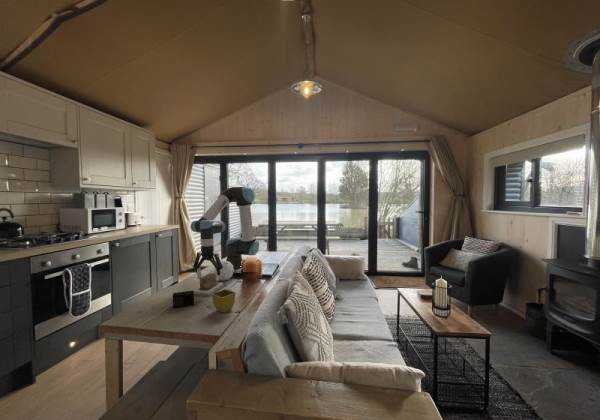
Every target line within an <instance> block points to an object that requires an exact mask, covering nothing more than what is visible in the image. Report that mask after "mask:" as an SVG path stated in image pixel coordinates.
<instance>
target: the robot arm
mask: <svg viewBox="0 0 600 420" xmlns="http://www.w3.org/2000/svg"><path fill="white" fill-rule="evenodd" d="M254 201H255V192H254V190H253V189H252V188H251V187H249V186H232V187H228V188H226V189H225V190H223V191H222V192H221V193H220V194H219V195H218V196H217V199H216V200H215V201H214V203H212V205H210V207H209V208H208V209H207V210H206V211H205V212H204V213H203V214H202V216H201V217H200V218H199V219H198V220H194V221H192V222H191V223H190V229H191V231H192V232H193V233H199V234H200V251H199V252H197V253H196V257H195V260H194V263H193V264H192V268H195V273H196V276H197V280H200V278H201V277H202V269H201V266H202V264H203V263H204V262H205V261H209V262H211V263H212V266H214V268H216V270H215V272H216V281H217V282H218V281H219V275H220V269H222V268H223V266H222V264H221V261H222V260H220V257H219V256H220V255H219V253H214V251H215V246H214V242H215V241H214V235H216V234H220V233H222V232H223V233H224V231H225V230H226V223H225V222H224V221H222V220H217V221H214V220H215V219H216V218H217V217H218V215H219V214H220V213H222V212H221V211H223V210H224V208H225V207H226V206H229V205H230V203H235V204H236V207H238V210H239V221H240V230H241V237H233V238H229V239H227V240H226V244H225V245H226V259H225V261H228V262H230V263H231V264H232V265H233V268H234V270H237V269H236V268H238V269H241V268H240V266H241V261H242V260H243V259H244V258H243V256H256V255H257V253H259V250H260V241H259V240H256V236H255V235H254V229H253V228H254V227H253V219H252V209H251V206H252V205H253V203H254ZM243 261H244V260H243Z"/></svg>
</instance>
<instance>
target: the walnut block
mask: <svg viewBox="0 0 600 420" xmlns="http://www.w3.org/2000/svg"><path fill="white" fill-rule="evenodd" d="M217 282H218V281H216V273H213V272H209V273H208V274H205V275H203V276H201V278H200V279H199V287H200V290H202V291H209V290H210V289H212V288H214V287H215V286H217Z"/></svg>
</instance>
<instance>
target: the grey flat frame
mask: <svg viewBox="0 0 600 420" xmlns="http://www.w3.org/2000/svg"><path fill="white" fill-rule="evenodd" d="M227 286H228V284H227V283H224V282H218V281H217V286H215V287H214V288H212V289H210V290H209V291H202V290H200V286H198V287H196V288H195V289H193V290H194V296H198V297H199V296H200V297H212V294H213V293H216V292H219V291H221V290H223V289H224V288H225V287H227Z"/></svg>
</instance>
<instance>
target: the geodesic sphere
mask: <svg viewBox="0 0 600 420" xmlns="http://www.w3.org/2000/svg"><path fill="white" fill-rule="evenodd" d="M220 261H221V264H222V266H223V268H222V269H220V275H219V280H220V281H228V280H229V279H230V278H231V277H232V276H233V274H234V270H235V269H234V268H233V265H232V264H231V263H230V262H228V261H226V260H220ZM215 270H216V268H215V267H214V268H213V272H214V273H216V272H215ZM219 280H218V281H219Z"/></svg>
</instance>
